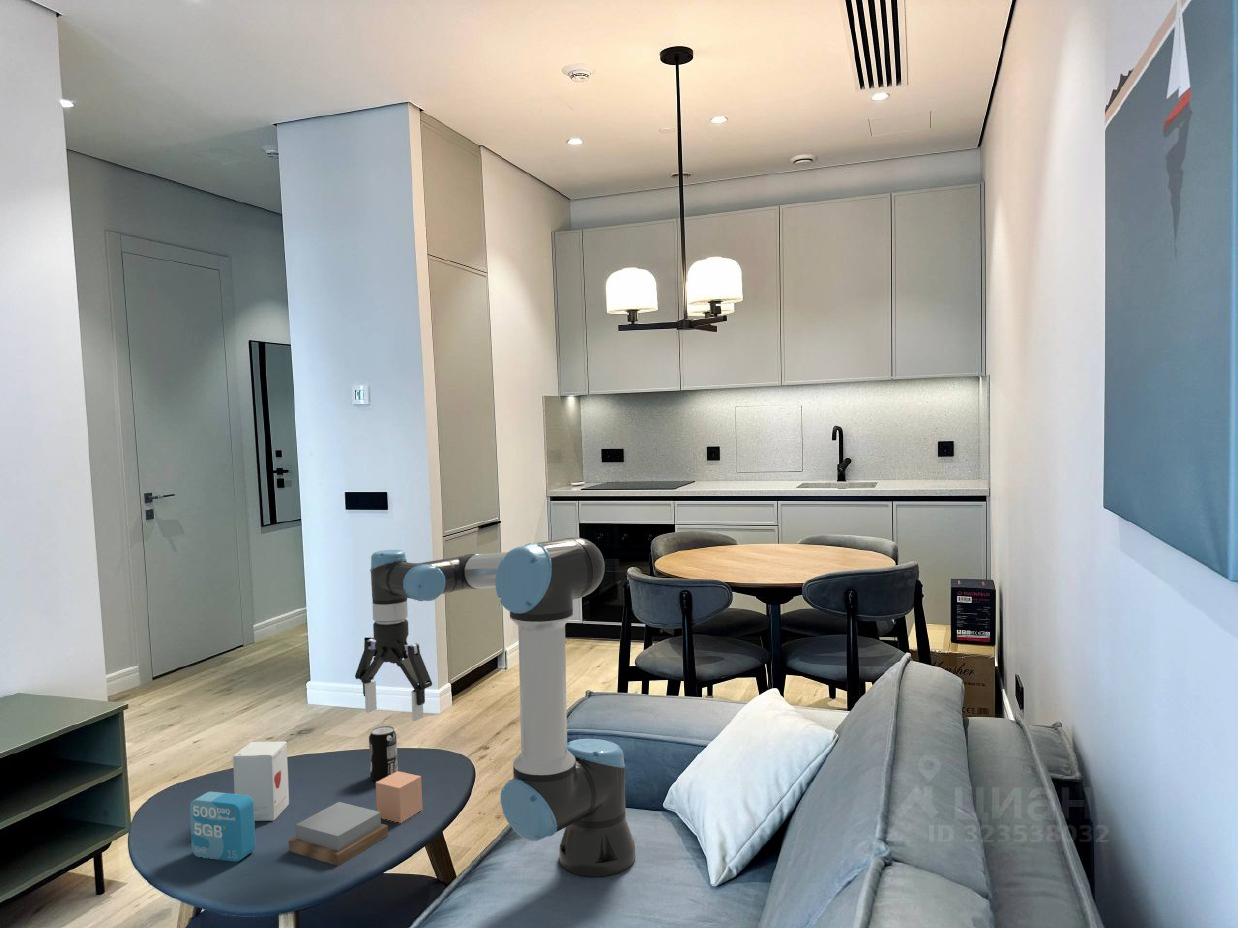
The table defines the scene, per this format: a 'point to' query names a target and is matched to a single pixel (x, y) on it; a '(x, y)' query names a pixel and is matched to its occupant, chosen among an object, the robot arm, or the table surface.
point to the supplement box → (263, 777)
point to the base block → (341, 855)
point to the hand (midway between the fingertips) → (394, 714)
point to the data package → (222, 826)
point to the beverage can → (382, 752)
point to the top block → (338, 825)
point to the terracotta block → (399, 796)
